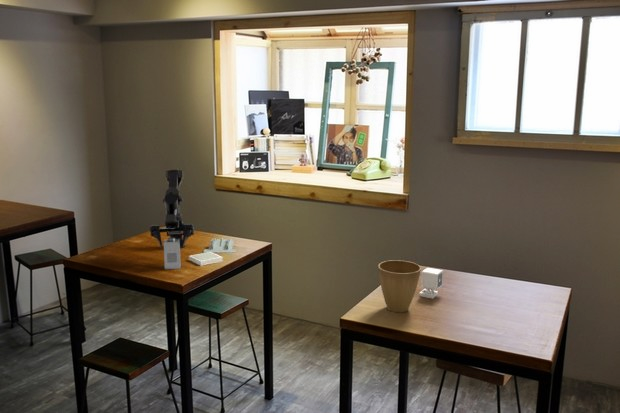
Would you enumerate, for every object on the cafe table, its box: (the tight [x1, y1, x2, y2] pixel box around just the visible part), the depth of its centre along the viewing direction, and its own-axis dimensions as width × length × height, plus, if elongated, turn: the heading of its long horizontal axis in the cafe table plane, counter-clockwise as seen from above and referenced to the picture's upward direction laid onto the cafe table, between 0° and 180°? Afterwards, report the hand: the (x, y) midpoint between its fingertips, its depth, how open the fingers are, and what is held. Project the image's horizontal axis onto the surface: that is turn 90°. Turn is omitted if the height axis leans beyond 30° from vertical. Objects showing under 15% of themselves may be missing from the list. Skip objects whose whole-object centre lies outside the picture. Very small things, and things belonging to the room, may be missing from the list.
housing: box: [163, 237, 182, 270], centre depth 266 cm, size 5×6×13 cm
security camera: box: [418, 267, 444, 299], centre depth 232 cm, size 6×7×10 cm
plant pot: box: [377, 259, 422, 313], centre depth 218 cm, size 15×15×16 cm
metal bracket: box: [203, 236, 237, 254], centre depth 295 cm, size 14×6×15 cm
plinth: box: [188, 252, 224, 267], centre depth 277 cm, size 11×11×2 cm
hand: (172, 246), depth 267 cm, fingers open, 9 cm apart
